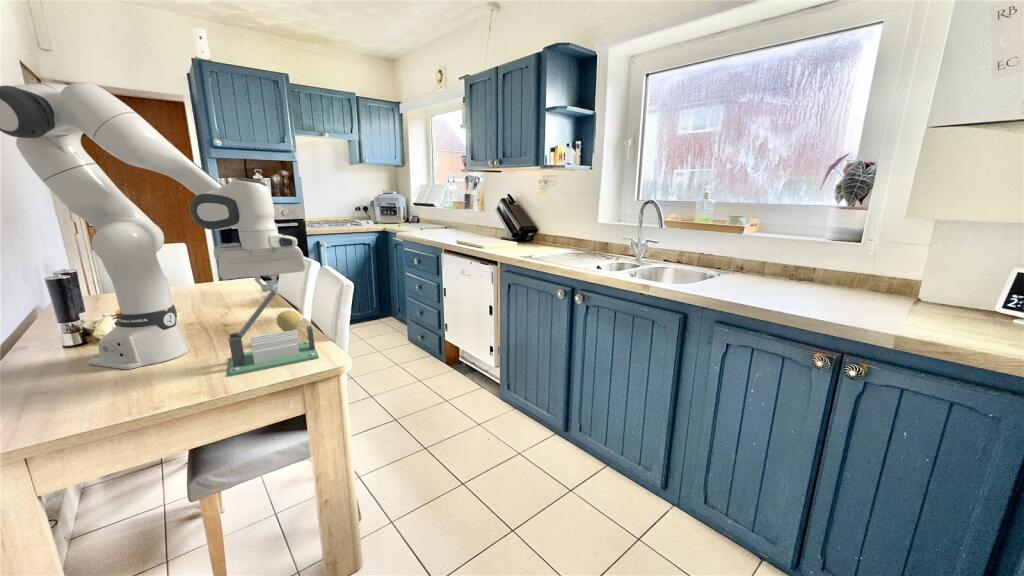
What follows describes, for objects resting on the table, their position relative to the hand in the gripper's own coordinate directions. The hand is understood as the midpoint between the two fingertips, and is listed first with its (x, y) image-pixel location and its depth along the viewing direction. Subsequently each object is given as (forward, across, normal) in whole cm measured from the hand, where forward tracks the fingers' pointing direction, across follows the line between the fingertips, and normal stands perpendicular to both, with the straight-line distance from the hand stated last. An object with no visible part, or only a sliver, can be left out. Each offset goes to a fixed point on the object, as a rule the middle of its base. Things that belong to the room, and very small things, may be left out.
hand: (267, 291), depth 111 cm
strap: (+7, -4, 0) cm, 8 cm away
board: (+20, -1, 0) cm, 20 cm away
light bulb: (+20, +4, +12) cm, 24 cm away
